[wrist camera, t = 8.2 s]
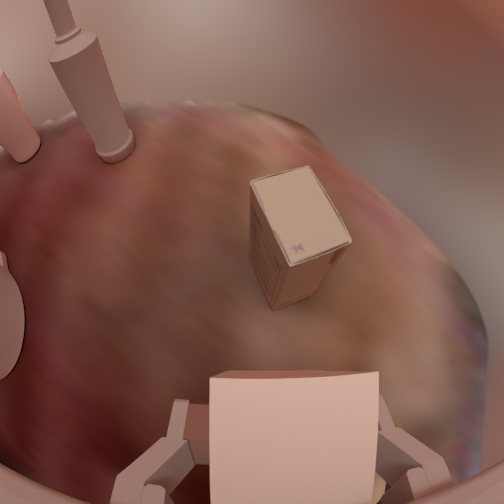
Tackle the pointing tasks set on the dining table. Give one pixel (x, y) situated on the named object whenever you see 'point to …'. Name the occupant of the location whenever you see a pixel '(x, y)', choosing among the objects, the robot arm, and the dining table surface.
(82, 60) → the bottle
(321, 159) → the dining table surface
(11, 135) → the drinking glass
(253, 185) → the skincare box
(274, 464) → the carton
